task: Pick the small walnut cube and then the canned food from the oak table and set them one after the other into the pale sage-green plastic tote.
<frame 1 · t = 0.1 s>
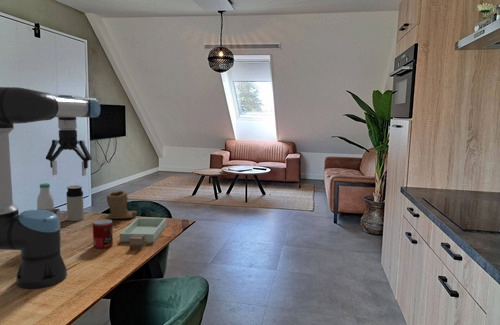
hand: (69, 175, 173), 28 cm above the table, fingers open, 13 cm apart
tote: (144, 233, 178), on the table
travel mug: (75, 219, 199), on the table
milk bottle: (46, 221, 194), on the table
canned food: (103, 246, 160), on the table
coffee box: (48, 247, 157), on the table
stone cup: (121, 218, 203), on the table
walnut cube: (137, 247, 159), on the table
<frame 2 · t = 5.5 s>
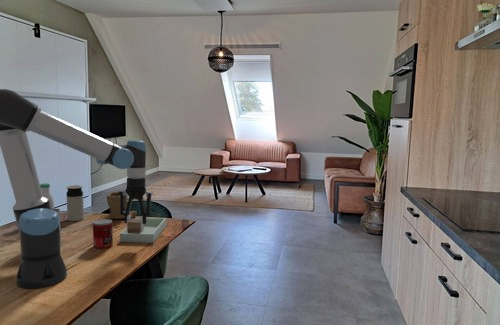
hand: (135, 230, 158), 7 cm above the table, fingers closed on walnut cube, 5 cm apart
walnut cube: (135, 231, 158), point 7 cm above the table, touching gripper
everything else where it was.
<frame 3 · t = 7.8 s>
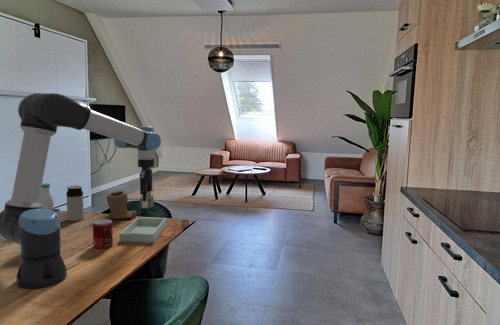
hand: (146, 205, 180), 13 cm above the table, fingers closed on walnut cube, 5 cm apart
walnut cube: (147, 206, 180), point 12 cm above the table, touching gripper
everything else where it was.
when the fingers open (1 cm above the table, at t = 10.1 s): walnut cube stays where it is, resting on tote.
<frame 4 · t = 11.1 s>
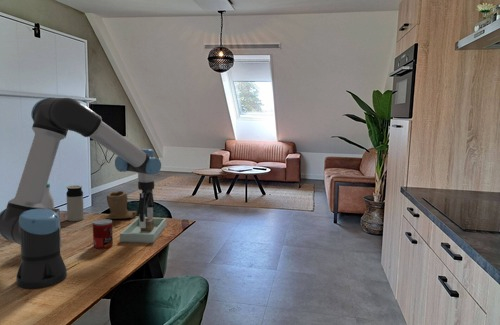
hand: (146, 223, 181), 4 cm above the table, fingers open, 13 cm apart
walnut cube: (147, 230, 182), point 1 cm above the table, touching tote
everything else where it was.
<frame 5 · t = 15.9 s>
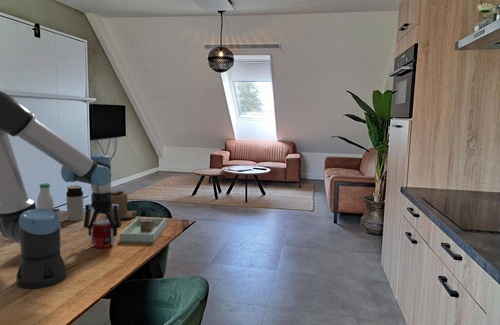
hand: (103, 243, 160), 1 cm above the table, fingers closed on canned food, 8 cm apart
canned food: (103, 246, 160), on the table, touching gripper
everything else where it was.
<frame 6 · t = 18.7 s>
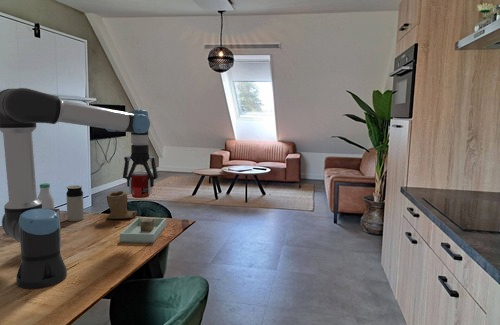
hand: (140, 193, 170), 21 cm above the table, fingers closed on canned food, 8 cm apart
canned food: (140, 196, 170), point 19 cm above the table, touching gripper
everything else where it was.
when the fingers open (5 cm above the table, at t = 22.0 s): canned food drops 3 cm, resting on tote.
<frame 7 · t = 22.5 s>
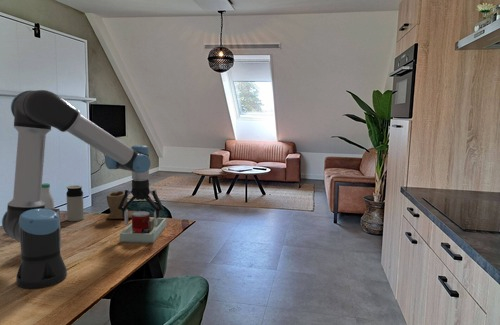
hand: (141, 224, 171), 6 cm above the table, fingers open, 13 cm apart
canned food: (141, 236, 172), resting on tote
everything else where it was.
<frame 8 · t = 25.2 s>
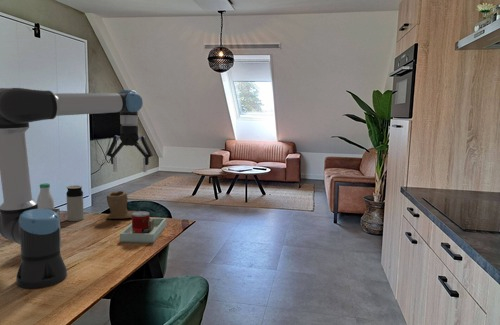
hand: (130, 171, 169), 31 cm above the table, fingers open, 13 cm apart
nothing on the table moved.
at the end: walnut cube inside the target area on the tote (3.5 cm from its centre), point 0.6 cm above the tote's base; canned food inside the target area on the tote (6.0 cm from its centre), point 0.4 cm above the tote's base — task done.
